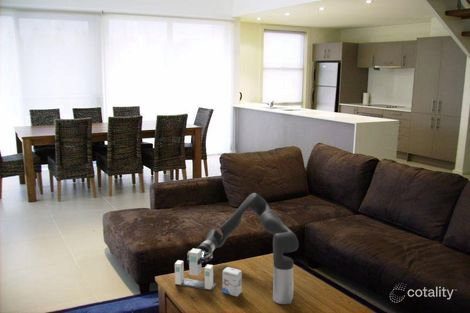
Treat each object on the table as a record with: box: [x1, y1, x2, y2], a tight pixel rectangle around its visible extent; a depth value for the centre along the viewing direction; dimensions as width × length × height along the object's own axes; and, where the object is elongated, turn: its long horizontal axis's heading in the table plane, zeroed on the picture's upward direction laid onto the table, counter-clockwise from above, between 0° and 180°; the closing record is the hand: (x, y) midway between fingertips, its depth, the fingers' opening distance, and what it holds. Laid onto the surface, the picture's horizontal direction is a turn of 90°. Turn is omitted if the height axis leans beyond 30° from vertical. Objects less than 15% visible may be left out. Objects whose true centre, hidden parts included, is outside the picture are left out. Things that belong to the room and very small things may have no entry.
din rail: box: [174, 277, 217, 291], centre depth 220 cm, size 20×6×1 cm, turn 73°
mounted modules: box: [174, 259, 214, 290], centre depth 217 cm, size 19×4×11 cm, turn 73°
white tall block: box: [188, 248, 202, 277], centre depth 218 cm, size 4×5×12 cm
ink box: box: [222, 266, 243, 297], centre depth 212 cm, size 9×5×12 cm, turn 62°
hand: (193, 262), depth 216 cm, fingers closed on white tall block, 4 cm apart
